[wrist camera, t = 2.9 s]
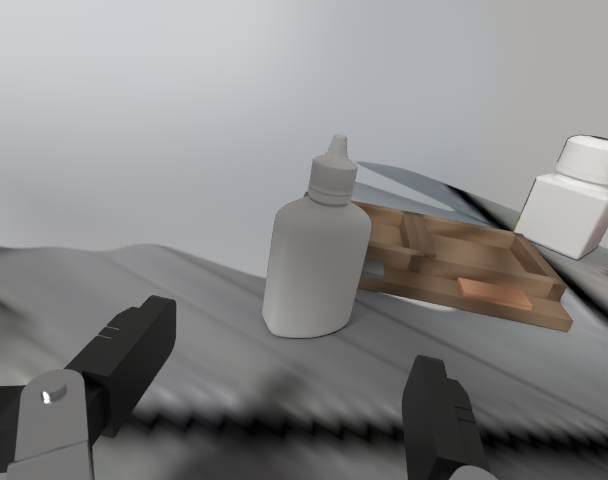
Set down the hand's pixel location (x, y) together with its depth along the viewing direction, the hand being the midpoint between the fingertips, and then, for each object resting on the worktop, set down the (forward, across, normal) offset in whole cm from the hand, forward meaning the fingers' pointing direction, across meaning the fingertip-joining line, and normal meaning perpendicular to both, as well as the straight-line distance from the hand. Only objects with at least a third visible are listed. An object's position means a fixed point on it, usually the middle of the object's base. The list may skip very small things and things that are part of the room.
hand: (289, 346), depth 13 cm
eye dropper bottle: (+11, 0, +7) cm, 13 cm away
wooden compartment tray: (+24, -8, +7) cm, 26 cm away
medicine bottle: (+36, -26, +7) cm, 45 cm away
